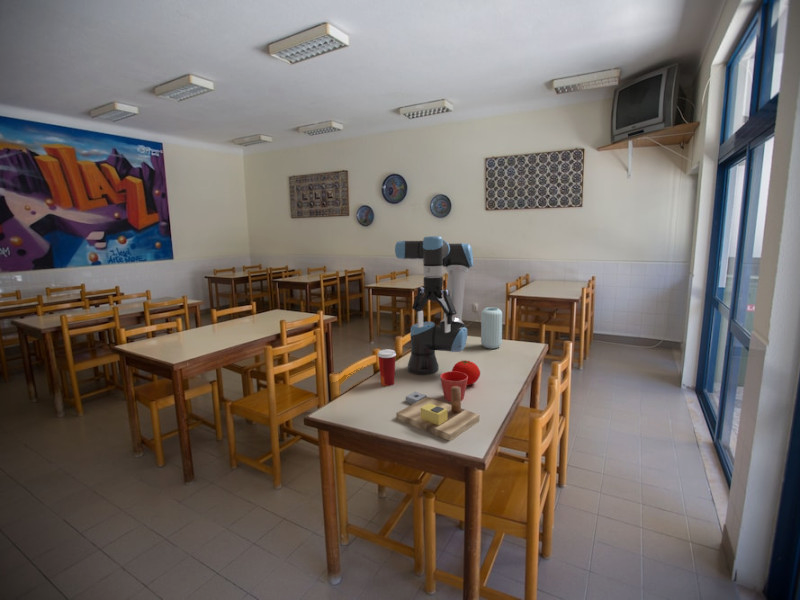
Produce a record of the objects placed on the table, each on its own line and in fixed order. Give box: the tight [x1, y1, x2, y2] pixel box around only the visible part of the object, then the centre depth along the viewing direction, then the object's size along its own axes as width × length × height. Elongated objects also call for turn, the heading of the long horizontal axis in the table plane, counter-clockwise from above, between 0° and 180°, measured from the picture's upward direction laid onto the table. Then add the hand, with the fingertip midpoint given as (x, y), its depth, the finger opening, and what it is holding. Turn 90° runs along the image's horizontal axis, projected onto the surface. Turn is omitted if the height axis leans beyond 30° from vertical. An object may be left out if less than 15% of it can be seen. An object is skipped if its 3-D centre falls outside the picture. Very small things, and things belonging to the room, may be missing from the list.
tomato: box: [451, 359, 481, 386], centre depth 179 cm, size 11×12×10 cm
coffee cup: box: [376, 348, 397, 387], centre depth 180 cm, size 8×8×15 cm
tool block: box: [405, 391, 428, 405], centre depth 163 cm, size 6×6×2 cm
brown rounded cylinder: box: [450, 386, 462, 413], centre depth 148 cm, size 3×3×11 cm
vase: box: [480, 306, 503, 350], centre depth 230 cm, size 12×12×22 cm
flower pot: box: [439, 370, 468, 402], centre depth 164 cm, size 11×11×10 cm
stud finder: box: [421, 403, 448, 425], centre depth 142 cm, size 8×5×4 cm, turn 47°
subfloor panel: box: [395, 396, 480, 442], centre depth 147 cm, size 24×18×2 cm
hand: (433, 329), depth 161 cm, fingers open, 13 cm apart
